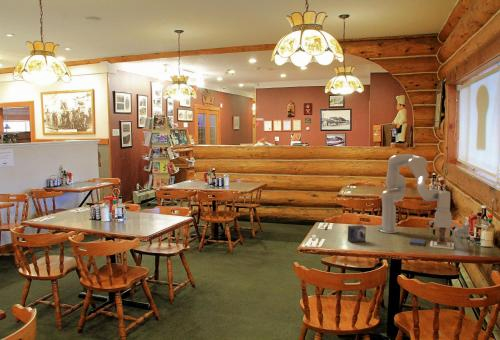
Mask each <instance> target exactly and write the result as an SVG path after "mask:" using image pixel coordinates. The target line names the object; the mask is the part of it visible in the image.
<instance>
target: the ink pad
mask: <svg viewBox="0 0 500 340" xmlns="http://www.w3.org/2000/svg"><path fill="white" fill-rule="evenodd" d="M425 243H426V239H420V238H410V241H409V245H411V246H412V245H413V246H420V247H425Z"/></svg>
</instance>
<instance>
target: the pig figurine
mask: <svg viewBox="0 0 500 340" xmlns="http://www.w3.org/2000/svg"><path fill="white" fill-rule="evenodd" d="M469 223H470V222H469V221H466V222H465V223H462V224H461V227H460V226H457V227H456V228H455V229H454V230H453V231H454V237H457V238H458V239H461V238H460V234H462V237H467V236H468V237H469V233H470V232H469Z"/></svg>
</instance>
